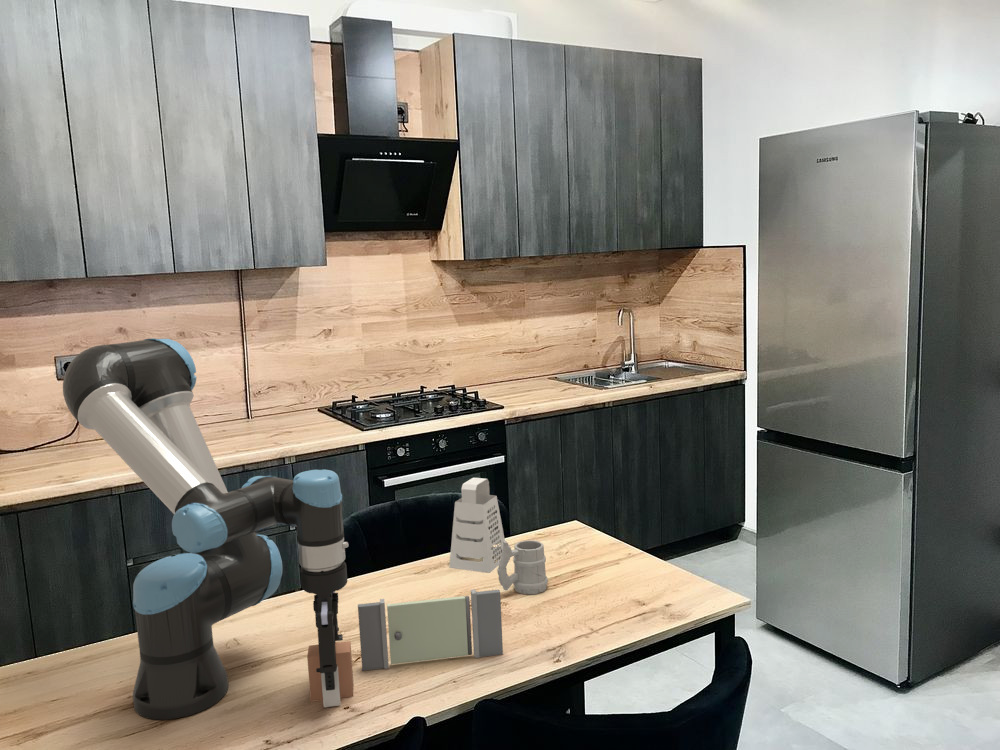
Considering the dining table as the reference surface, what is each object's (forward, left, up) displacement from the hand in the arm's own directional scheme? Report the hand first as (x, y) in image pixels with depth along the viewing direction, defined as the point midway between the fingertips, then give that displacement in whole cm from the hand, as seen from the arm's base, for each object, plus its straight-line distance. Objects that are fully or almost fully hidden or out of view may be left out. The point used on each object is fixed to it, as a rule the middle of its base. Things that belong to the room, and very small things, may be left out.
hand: (333, 691), depth 141 cm
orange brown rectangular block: (0, 0, 0) cm, 0 cm away
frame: (+17, +7, 0) cm, 19 cm away
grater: (+32, +53, 0) cm, 62 cm away
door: (+17, +7, 0) cm, 19 cm away
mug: (+39, +34, 0) cm, 52 cm away
